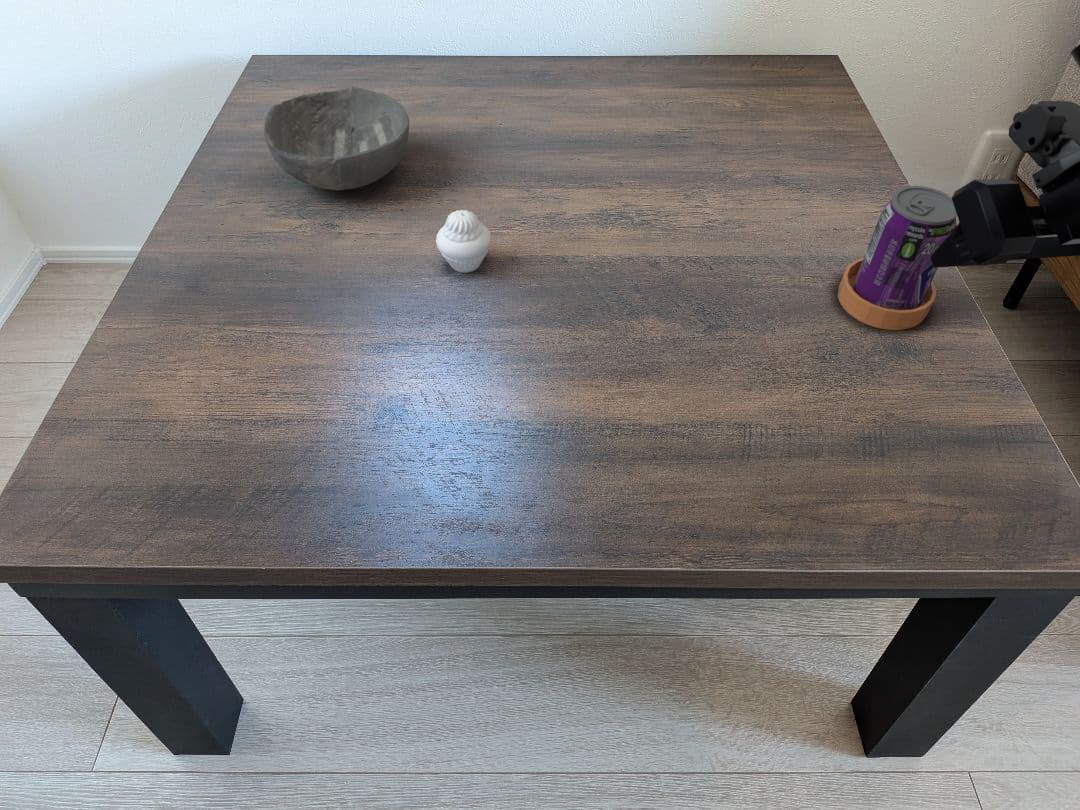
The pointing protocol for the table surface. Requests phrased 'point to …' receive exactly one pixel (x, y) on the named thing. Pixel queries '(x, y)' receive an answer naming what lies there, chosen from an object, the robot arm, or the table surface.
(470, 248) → the muffin
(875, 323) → the terracotta bowl
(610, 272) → the table surface
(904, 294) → the beverage can
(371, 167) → the bowl
